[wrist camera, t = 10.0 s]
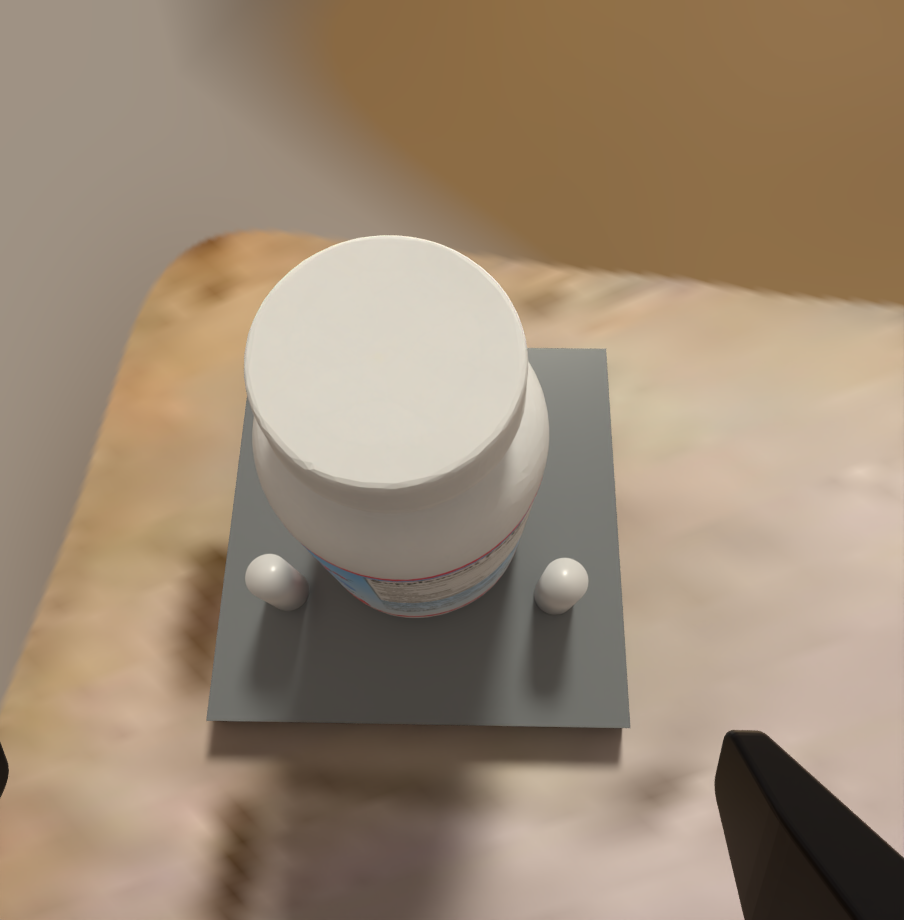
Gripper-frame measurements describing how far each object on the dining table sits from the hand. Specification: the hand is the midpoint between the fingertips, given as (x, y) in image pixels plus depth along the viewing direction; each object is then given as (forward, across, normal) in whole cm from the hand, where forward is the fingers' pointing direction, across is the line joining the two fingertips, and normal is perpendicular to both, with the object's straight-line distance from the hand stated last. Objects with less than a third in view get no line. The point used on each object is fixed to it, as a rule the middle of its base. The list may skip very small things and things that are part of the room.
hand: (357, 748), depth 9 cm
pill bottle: (+13, 0, +4) cm, 13 cm away
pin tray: (+13, 0, +5) cm, 14 cm away
